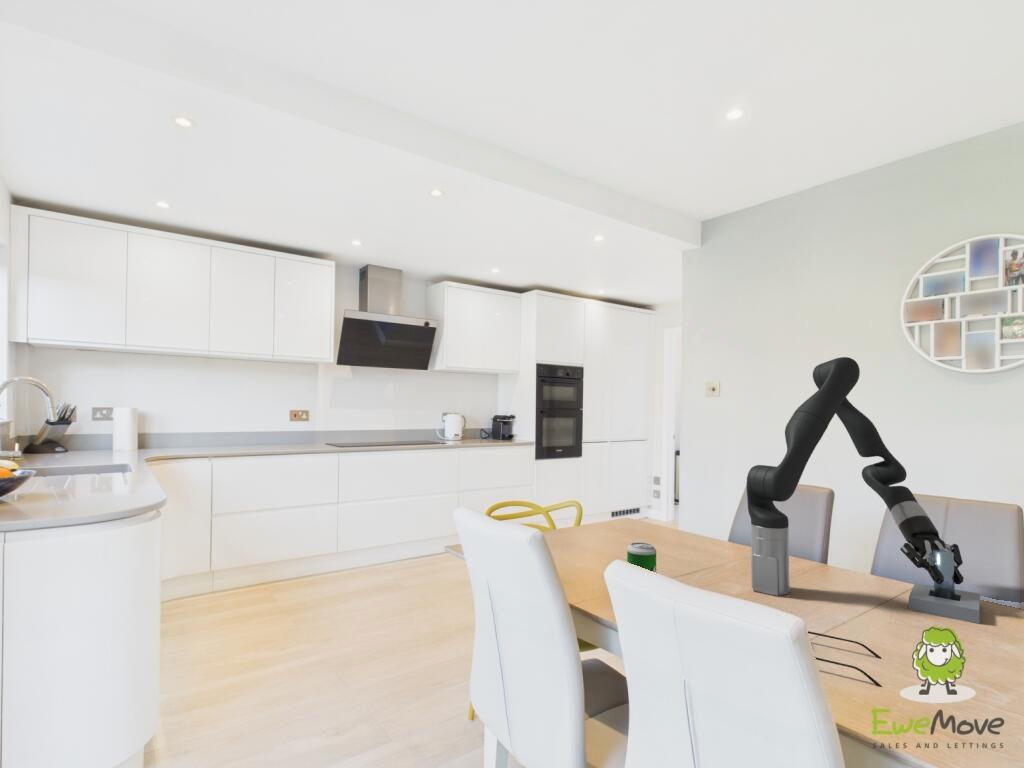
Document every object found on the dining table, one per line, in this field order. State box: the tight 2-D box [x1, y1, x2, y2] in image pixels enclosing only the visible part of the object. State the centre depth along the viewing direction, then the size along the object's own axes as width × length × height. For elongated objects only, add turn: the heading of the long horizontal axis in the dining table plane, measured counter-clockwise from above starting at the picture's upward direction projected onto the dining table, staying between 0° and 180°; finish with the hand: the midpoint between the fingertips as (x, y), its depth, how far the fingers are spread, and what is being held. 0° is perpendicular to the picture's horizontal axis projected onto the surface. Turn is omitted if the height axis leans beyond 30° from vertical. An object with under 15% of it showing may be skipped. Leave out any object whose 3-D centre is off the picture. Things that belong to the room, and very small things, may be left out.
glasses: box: [807, 630, 883, 688], centre depth 104 cm, size 14×16×5 cm
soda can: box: [626, 541, 657, 573], centre depth 143 cm, size 8×8×12 cm
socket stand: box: [908, 582, 981, 625], centre depth 133 cm, size 16×13×3 cm
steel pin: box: [933, 549, 956, 600], centre depth 133 cm, size 4×4×12 cm
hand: (950, 582), depth 131 cm, fingers closed on steel pin, 4 cm apart
